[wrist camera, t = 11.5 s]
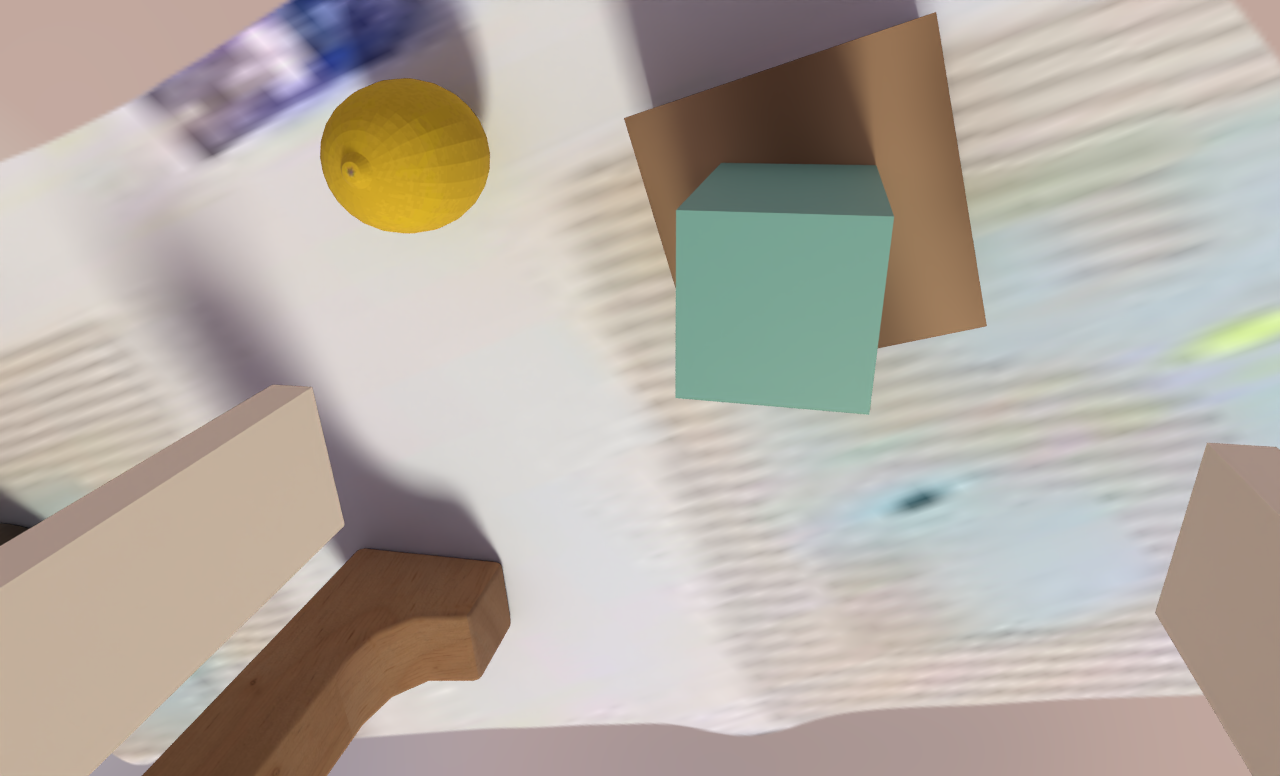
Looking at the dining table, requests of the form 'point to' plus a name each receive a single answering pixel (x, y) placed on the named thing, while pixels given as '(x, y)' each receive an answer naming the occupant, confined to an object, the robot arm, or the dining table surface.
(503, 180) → the dining table surface
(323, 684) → the wooden block
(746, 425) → the dining table surface
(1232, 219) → the dining table surface
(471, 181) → the lemon
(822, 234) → the teal block
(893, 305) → the walnut base block
